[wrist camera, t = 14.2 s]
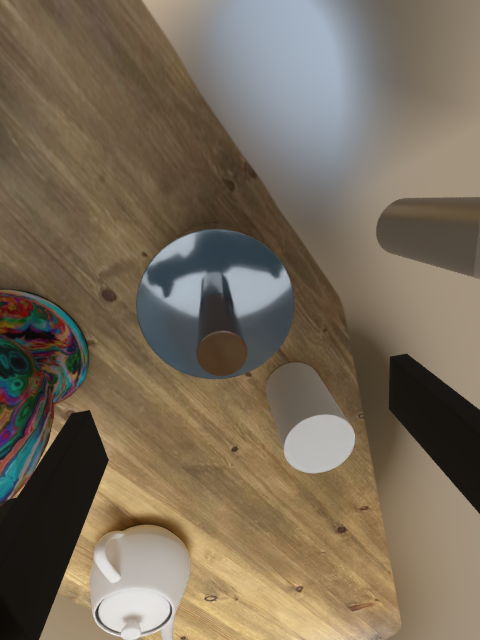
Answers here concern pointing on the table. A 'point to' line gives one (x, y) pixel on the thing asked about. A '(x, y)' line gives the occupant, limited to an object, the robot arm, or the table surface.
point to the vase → (33, 380)
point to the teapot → (138, 581)
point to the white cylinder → (308, 419)
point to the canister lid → (215, 303)
